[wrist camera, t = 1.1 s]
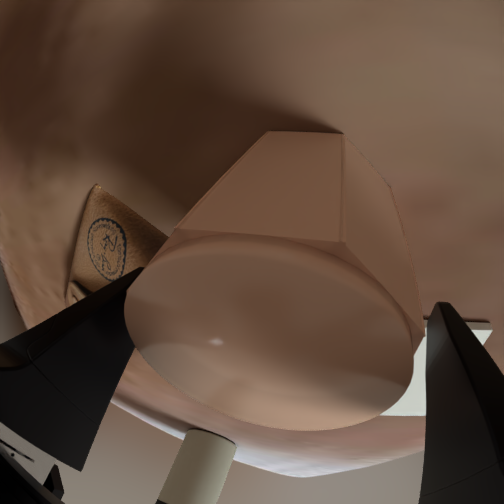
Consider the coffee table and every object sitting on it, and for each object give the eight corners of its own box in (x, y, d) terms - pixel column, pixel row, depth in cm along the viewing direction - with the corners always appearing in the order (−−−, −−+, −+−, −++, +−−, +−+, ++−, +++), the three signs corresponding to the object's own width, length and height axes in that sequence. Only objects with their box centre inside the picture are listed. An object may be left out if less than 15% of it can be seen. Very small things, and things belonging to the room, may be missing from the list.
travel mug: (181, 422, 38) (136, 520, 24) (230, 436, 35) (188, 543, 21) (198, 439, 42) (161, 525, 28) (242, 451, 39) (207, 543, 26)
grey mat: (490, 322, 13) (492, 330, 12) (424, 409, 20) (424, 415, 19) (302, 308, 16) (301, 316, 16) (295, 400, 23) (294, 406, 23)
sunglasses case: (89, 171, 14) (61, 271, 11) (195, 203, 18) (203, 299, 15) (64, 304, 26) (59, 366, 22) (126, 315, 29) (126, 375, 26)
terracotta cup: (395, 138, 10) (471, 277, 3) (373, 281, 14) (369, 439, 8) (218, 131, 11) (79, 236, 5) (237, 266, 16) (170, 401, 9)
